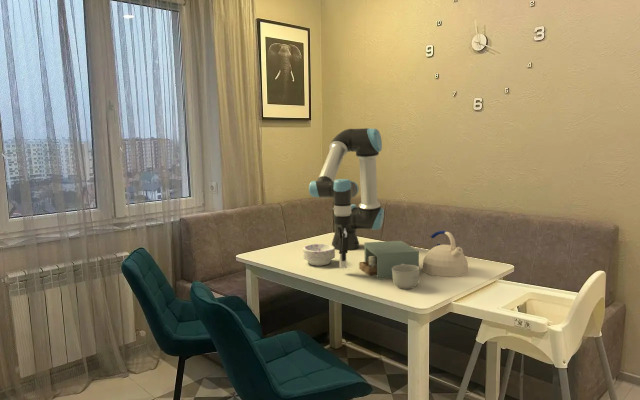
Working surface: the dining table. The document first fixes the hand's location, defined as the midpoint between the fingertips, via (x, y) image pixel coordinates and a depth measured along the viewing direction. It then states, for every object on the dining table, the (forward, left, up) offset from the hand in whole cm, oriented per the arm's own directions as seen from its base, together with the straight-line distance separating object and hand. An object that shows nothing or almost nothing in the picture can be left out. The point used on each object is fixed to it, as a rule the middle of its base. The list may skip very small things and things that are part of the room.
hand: (343, 267), depth 212 cm
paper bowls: (-20, -7, -3) cm, 21 cm away
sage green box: (0, +22, -3) cm, 22 cm away
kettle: (+5, +46, -3) cm, 46 cm away
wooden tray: (-1, +18, -3) cm, 18 cm away
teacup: (+22, +21, -3) cm, 31 cm away
